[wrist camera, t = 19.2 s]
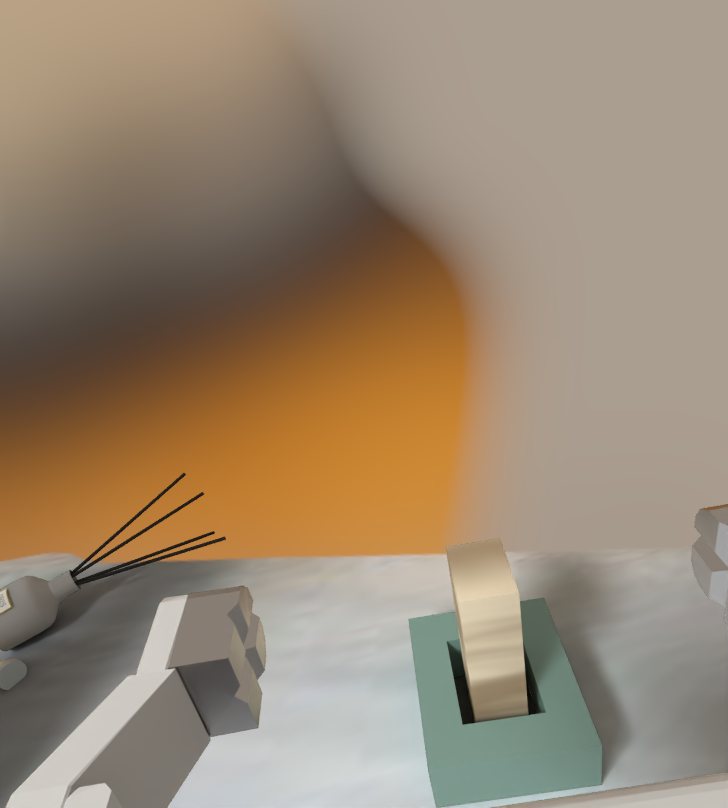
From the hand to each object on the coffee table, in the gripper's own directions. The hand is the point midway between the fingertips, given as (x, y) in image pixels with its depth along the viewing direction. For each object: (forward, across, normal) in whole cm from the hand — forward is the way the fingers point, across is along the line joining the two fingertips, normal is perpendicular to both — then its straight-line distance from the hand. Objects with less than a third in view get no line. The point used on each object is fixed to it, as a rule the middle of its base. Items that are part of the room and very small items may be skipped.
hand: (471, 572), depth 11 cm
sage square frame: (+15, -2, +27) cm, 31 cm away
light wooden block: (+15, -2, +27) cm, 31 cm away
